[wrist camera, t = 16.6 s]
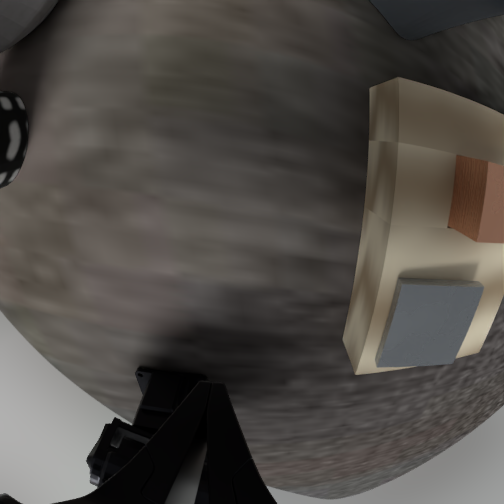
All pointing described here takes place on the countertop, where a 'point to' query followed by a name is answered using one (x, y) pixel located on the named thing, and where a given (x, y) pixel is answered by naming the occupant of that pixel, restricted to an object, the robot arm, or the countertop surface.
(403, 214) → the block
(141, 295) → the countertop surface
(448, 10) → the storage bin
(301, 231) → the countertop surface
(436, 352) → the latch flap
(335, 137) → the countertop surface
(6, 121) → the white-spotted black cylinder
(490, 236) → the peg
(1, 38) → the coffee pot
